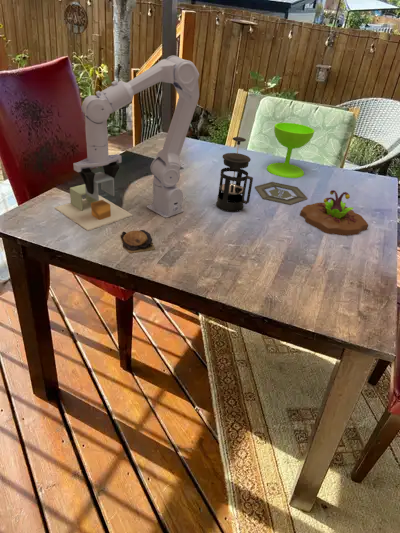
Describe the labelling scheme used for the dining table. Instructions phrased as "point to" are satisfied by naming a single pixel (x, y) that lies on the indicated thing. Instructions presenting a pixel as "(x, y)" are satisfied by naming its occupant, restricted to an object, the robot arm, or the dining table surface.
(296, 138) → the wineglass
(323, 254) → the dining table surface
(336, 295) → the dining table surface
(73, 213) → the mat
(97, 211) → the orange block
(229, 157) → the french press
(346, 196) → the plant
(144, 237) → the wood slice
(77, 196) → the far cover
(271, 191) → the hexagonal trivet
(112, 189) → the near cover
